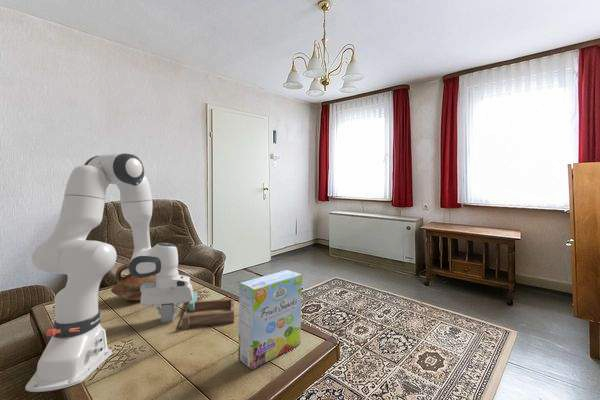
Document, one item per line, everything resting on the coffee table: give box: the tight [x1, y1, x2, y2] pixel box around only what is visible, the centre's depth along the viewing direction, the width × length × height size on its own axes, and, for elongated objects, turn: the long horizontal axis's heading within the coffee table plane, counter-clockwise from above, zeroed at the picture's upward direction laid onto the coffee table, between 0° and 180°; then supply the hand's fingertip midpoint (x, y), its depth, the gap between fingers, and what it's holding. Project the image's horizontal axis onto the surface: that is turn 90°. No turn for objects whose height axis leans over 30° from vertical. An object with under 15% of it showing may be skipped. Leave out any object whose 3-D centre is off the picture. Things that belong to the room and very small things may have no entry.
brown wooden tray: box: [178, 297, 235, 331], centre depth 128 cm, size 30×21×4 cm
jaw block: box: [160, 303, 176, 323], centre depth 120 cm, size 4×4×8 cm
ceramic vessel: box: [110, 248, 156, 302], centre depth 142 cm, size 17×26×25 cm, turn 123°
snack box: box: [237, 269, 303, 371], centre depth 96 cm, size 22×9×26 cm, turn 136°
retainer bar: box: [189, 291, 198, 311], centre depth 133 cm, size 14×2×3 cm, turn 13°
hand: (168, 313), depth 120 cm, fingers closed on jaw block, 4 cm apart
